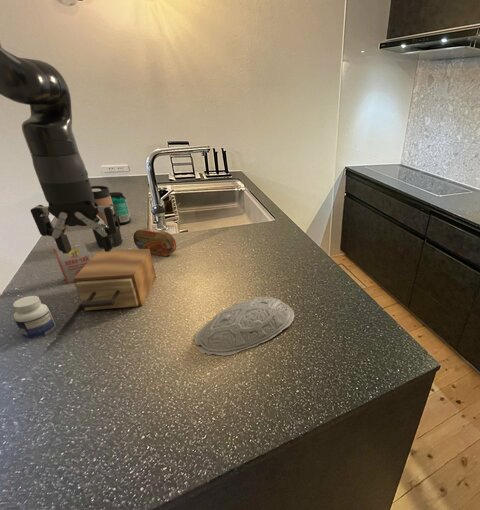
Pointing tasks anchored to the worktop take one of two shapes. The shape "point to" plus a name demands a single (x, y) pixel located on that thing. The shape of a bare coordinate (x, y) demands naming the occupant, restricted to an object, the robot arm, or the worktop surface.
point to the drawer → (107, 293)
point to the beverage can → (120, 207)
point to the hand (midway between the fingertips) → (88, 251)
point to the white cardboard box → (72, 261)
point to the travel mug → (102, 199)
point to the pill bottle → (33, 317)
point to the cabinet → (122, 269)
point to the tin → (155, 241)
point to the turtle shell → (244, 326)
